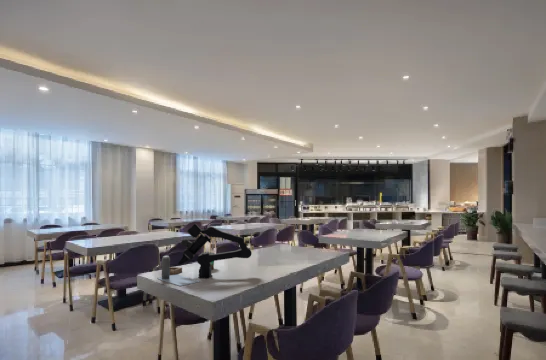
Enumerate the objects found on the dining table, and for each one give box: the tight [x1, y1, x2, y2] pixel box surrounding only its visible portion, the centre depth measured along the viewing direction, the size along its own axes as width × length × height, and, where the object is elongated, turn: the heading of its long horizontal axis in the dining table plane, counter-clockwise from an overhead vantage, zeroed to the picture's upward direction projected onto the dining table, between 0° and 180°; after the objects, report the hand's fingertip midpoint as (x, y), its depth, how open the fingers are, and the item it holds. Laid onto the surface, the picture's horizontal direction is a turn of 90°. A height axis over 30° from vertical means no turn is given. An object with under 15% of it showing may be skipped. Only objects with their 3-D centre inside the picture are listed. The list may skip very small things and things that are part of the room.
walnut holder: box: [170, 266, 183, 275], centre depth 197 cm, size 8×8×2 cm
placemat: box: [157, 274, 201, 287], centre depth 177 cm, size 24×13×1 cm, turn 48°
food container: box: [209, 251, 216, 270], centre depth 208 cm, size 12×6×10 cm, turn 168°
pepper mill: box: [161, 255, 171, 279], centre depth 181 cm, size 4×4×12 cm
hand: (179, 263), depth 183 cm, fingers open, 9 cm apart
